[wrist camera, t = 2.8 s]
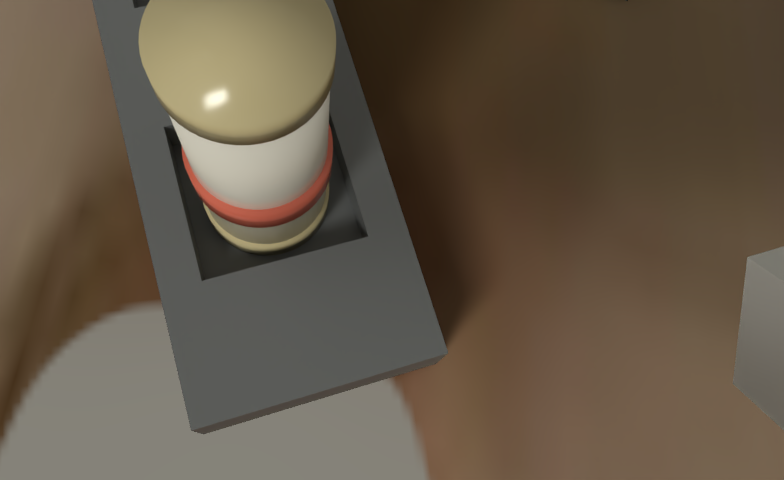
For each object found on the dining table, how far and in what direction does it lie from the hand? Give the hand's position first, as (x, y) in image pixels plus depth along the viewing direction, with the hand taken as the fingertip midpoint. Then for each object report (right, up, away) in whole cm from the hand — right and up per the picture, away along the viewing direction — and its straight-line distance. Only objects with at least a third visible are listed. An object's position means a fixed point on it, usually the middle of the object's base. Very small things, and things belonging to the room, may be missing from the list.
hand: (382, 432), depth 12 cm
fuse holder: (-6, +9, +16) cm, 19 cm away
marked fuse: (-4, +5, +14) cm, 15 cm away
